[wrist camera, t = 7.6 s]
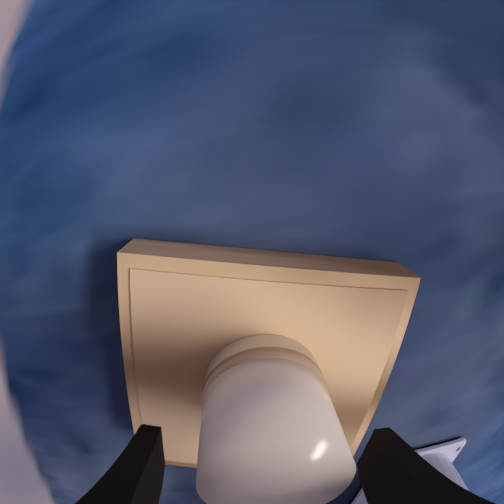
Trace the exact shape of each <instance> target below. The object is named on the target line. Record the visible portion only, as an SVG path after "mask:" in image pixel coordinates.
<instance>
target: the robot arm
mask: <svg viewBox="0 0 504 504" xmlns="http://www.w3.org/2000/svg"><path fill="white" fill-rule="evenodd" d="M465 443H466V439H465V438H459V439H456V440H453V441H449V442H446V443H442V444H438V445H434V446H430V447H426V448H422V449H418V450H414V449H412V448H411V447H410V446H409V445H408V444H407V443H406V442H405V441H404V440H403V439H402V438H400V437H399V436H398V435H397V434H396V433H395V432H394V431H393V430H392V429H390V428H381V429H374V431H373V433H372V436H371V438H370V440H369V442H368V444H367V445H366V447H365V449H364V451H363V453H362V455H361V457H360V459H359V461H358V463H357V466H358V471H359V477H360V481H361V485H362V489H361V490H360V492H359V493H358V494H357V496H356V497H355V499H354V500H353V502H352V503H351V504H495V503H492V502H490V501H488V500H486V499H483V498H481V497H479V496H477V495H475V494H473V493H471V492H469V490H468V488H467V487H466V485H465V483H464V482H463V480H462V478H461V477H460V475H459V474H458V472H457V470H456V469H455V467H454V466H453V464H452V462H453V461H454V459H455V458H456V456H457V455H458V454H459V452H460V451H461V449H462V448H463V446H464V445H465ZM164 468H165V457H164V449H163V440H162V430H161V427H159V426H152V425H146V424H142V425H140V426H139V428H138V430H137V431H136V433H135V435H134V436H133V438H132V439H131V441H130V442H129V444H128V445H127V446H126V448H125V449H124V451H123V452H122V453H121V455H120V456H119V457H118V458H117V460H116V461H115V462H114V463H113V465H112V466H111V467H110V468H109V470H108V471H107V472H106V473H105V474H104V475H103V476H102V478H101V479H100V480H99V481H98V482H97V483H96V484H95V485H94V486H93V487H92V488H91V489H90V490H89V491H88V492H87V493H86V494H85V495H84V496H83V497H82V498H81V499H80V500H79V501H77V502H76V503H75V504H158V502H159V498H160V494H161V490H162V484H163V476H164Z"/></svg>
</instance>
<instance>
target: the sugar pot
mask: <svg viewBox="0 0 504 504" xmlns="http://www.w3.org/2000/svg"><path fill="white" fill-rule="evenodd" d="M201 408H202V416H201V426H200V437H199V448H198V459H197V471H196V490H197V493H198V495H199V496H200V498H201V499H202V500H203V501H204V502H205V503H207V504H326V503H328V502H330V501H331V500H333V499H334V498H336V497H337V496H339V495H340V494H341V493H342V492H343V491H344V490H345V489H346V488H347V487H348V486H349V485H350V484H351V482H352V480H353V479H354V476H355V473H356V465H355V461H354V459H353V456H352V453H351V451H350V448H349V445H348V442H347V440H346V437H345V435H344V432H343V429H342V427H341V424H340V421H339V419H338V416H337V413H336V411H335V408H334V406H333V403H332V400H331V398H330V395H329V390H328V386H327V383H326V381H325V378H324V376H323V374H322V371H321V370H320V368H319V367H318V364H317V362H316V360H315V358H314V356H313V355H312V353H311V352H310V351H309V350H308V349H307V348H306V347H305V346H304V345H302V344H301V343H299V342H297V341H296V340H293V339H291V338H288V337H284V336H280V335H274V334H260V335H252V336H248V337H244V338H241V339H238V340H236V341H234V342H232V343H230V344H228V345H227V346H225V347H224V348H222V349H221V350H220V351H219V352H218V353H217V354H216V355H215V356H214V357H213V359H212V360H211V362H210V364H209V366H208V368H207V371H206V376H205V383H204V386H203V392H202V401H201Z"/></svg>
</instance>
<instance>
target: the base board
mask: <svg viewBox="0 0 504 504" xmlns="http://www.w3.org/2000/svg"><path fill="white" fill-rule="evenodd" d="M117 275H118V300H119V317H120V330H121V342H122V352H123V361H124V370H125V378H126V386H127V393H128V400H129V406H130V412H131V418H132V424H133V430H134V435H135V433H136V431H137V430H138V428H139V426H140V425H142V424H146V425H152V426H159V427H161V430H162V440H163V449H164V457H165V464H168V465H176V466H184V467H194V468H197V459H198V448H199V437H200V426H201V416H202V408H201V401H202V392H203V386H204V383H205V376H206V371H207V368H208V366H209V364H210V362H211V360H212V359H213V357H214V356H215V355H216V354H217V353H218V352H219V351H220V350H221V349H222V348H224V347H225V346H227V345H228V344H230V343H232V342H234V341H236V340H238V339H241V338H244V337H248V336H252V335H260V334H274V335H280V336H284V337H288V338H291V339H293V340H296V341H297V342H299V343H301V344H302V345H304V346H305V347H306V348H307V349H308V350H309V351H310V352H311V353H312V355H313V356H314V358H315V360H316V362H317V364H318V367H319V368H320V370H321V371H322V374H323V376H324V378H325V381H326V383H327V386H328V390H329V395H330V398H331V400H332V403H333V406H334V408H335V411H336V413H337V416H338V419H339V421H340V424H341V427H342V429H343V432H344V435H345V437H346V440H347V442H348V445H349V448H350V451H351V453H352V456H354V454H355V452H356V450H357V448H358V446H359V444H360V442H361V440H362V438H363V436H364V434H365V432H366V430H367V428H368V425H369V423H370V421H371V419H372V417H373V414H374V412H375V410H376V408H377V405H378V403H379V401H380V398H381V396H382V393H383V391H384V388H385V386H386V383H387V381H388V378H389V376H390V373H391V370H392V368H393V365H394V362H395V360H396V357H397V354H398V351H399V348H400V345H401V343H402V340H403V337H404V334H405V330H406V327H407V324H408V321H409V318H410V314H411V311H412V308H413V304H414V301H415V297H416V294H417V290H418V286H419V282H420V277H418V276H417V275H415V274H414V273H413V272H411V271H410V270H408V269H407V268H405V267H404V266H402V265H401V264H399V263H398V262H388V261H378V260H367V259H356V258H346V257H335V256H324V255H313V254H302V253H292V252H281V251H270V250H259V249H248V248H237V247H226V246H215V245H204V244H193V243H182V242H170V241H159V240H148V239H137V238H134V239H132V240H131V241H130V242H129V243H127V244H126V245H125V246H124V247H123V248H121V249H120V250H119V251H118V252H117Z"/></svg>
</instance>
